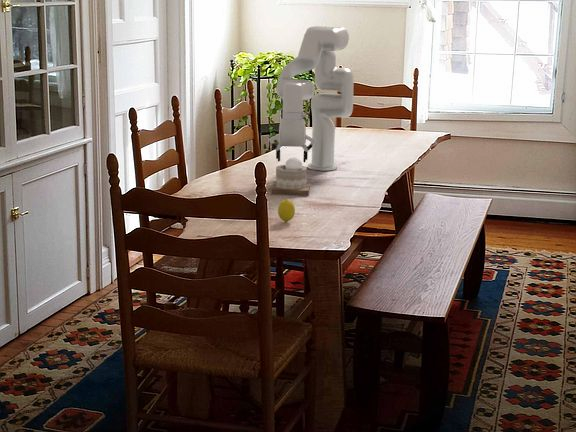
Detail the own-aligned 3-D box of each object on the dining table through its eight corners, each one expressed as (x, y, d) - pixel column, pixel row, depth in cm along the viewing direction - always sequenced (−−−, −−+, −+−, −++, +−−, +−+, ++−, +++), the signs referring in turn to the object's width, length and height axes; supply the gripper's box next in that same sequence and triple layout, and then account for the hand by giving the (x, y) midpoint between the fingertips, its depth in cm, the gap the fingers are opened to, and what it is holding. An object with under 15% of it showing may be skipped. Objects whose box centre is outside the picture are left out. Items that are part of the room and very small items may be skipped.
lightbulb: (279, 184, 347) (292, 157, 344) (275, 178, 352) (287, 152, 350) (294, 189, 349) (306, 163, 347) (290, 184, 355) (302, 158, 352)
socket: (273, 186, 358) (274, 163, 356) (309, 187, 358) (310, 164, 355) (270, 194, 345) (271, 171, 343) (308, 196, 344) (309, 172, 342)
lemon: (294, 220, 311) (294, 197, 309) (294, 224, 305) (295, 201, 303) (277, 220, 310) (278, 197, 308) (277, 224, 305) (278, 201, 303)
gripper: (316, 115, 347) (315, 159, 352) (270, 113, 348) (269, 158, 353) (315, 118, 340) (314, 164, 345) (268, 117, 341) (268, 162, 346)
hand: (291, 161), depth 349 cm, fingers open, 9 cm apart
